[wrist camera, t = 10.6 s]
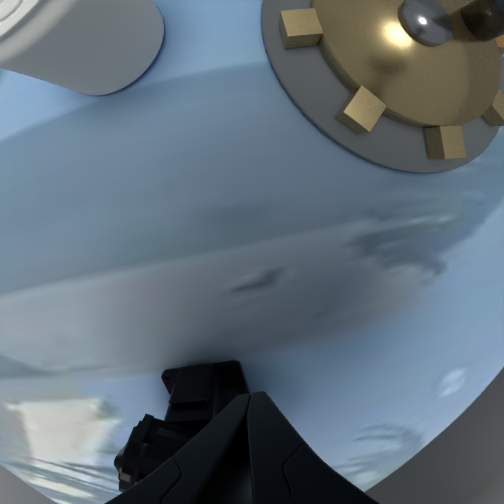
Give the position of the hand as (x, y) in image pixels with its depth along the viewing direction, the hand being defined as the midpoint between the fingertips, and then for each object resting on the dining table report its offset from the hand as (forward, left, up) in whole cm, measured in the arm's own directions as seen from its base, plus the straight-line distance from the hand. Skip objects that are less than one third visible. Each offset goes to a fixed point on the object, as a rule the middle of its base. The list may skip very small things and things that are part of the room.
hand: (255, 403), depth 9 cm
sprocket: (+14, -14, -12) cm, 23 cm away
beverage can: (+18, +6, -13) cm, 23 cm away
